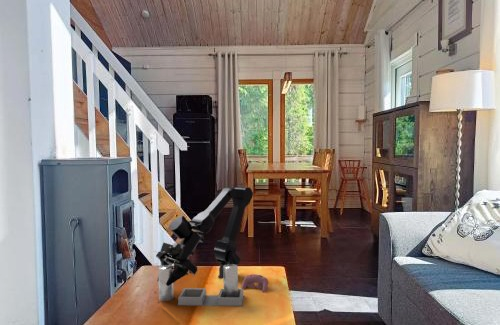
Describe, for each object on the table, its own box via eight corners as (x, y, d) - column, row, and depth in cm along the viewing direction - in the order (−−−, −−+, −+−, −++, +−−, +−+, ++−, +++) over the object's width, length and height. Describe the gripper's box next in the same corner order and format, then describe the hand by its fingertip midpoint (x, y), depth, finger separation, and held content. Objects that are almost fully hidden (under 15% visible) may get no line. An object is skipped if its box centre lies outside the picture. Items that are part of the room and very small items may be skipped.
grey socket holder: (244, 298, 128) (244, 288, 128) (242, 309, 120) (242, 298, 120) (183, 297, 130) (183, 288, 130) (177, 308, 121) (177, 297, 121)
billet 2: (232, 296, 128) (232, 263, 127) (240, 301, 124) (240, 266, 124) (220, 300, 125) (220, 266, 124) (228, 304, 121) (228, 269, 120)
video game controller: (268, 295, 135) (270, 276, 137) (265, 294, 131) (267, 274, 133) (243, 292, 138) (245, 273, 140) (239, 291, 134) (242, 272, 137)
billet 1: (169, 296, 131) (169, 264, 130) (175, 301, 127) (175, 267, 126) (156, 300, 128) (156, 267, 127) (162, 305, 124) (161, 270, 123)
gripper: (159, 229, 136) (133, 265, 128) (190, 237, 123) (163, 278, 115) (177, 246, 142) (153, 281, 134) (208, 255, 129) (183, 294, 121)
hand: (162, 283), depth 126 cm, fingers closed on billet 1, 5 cm apart
